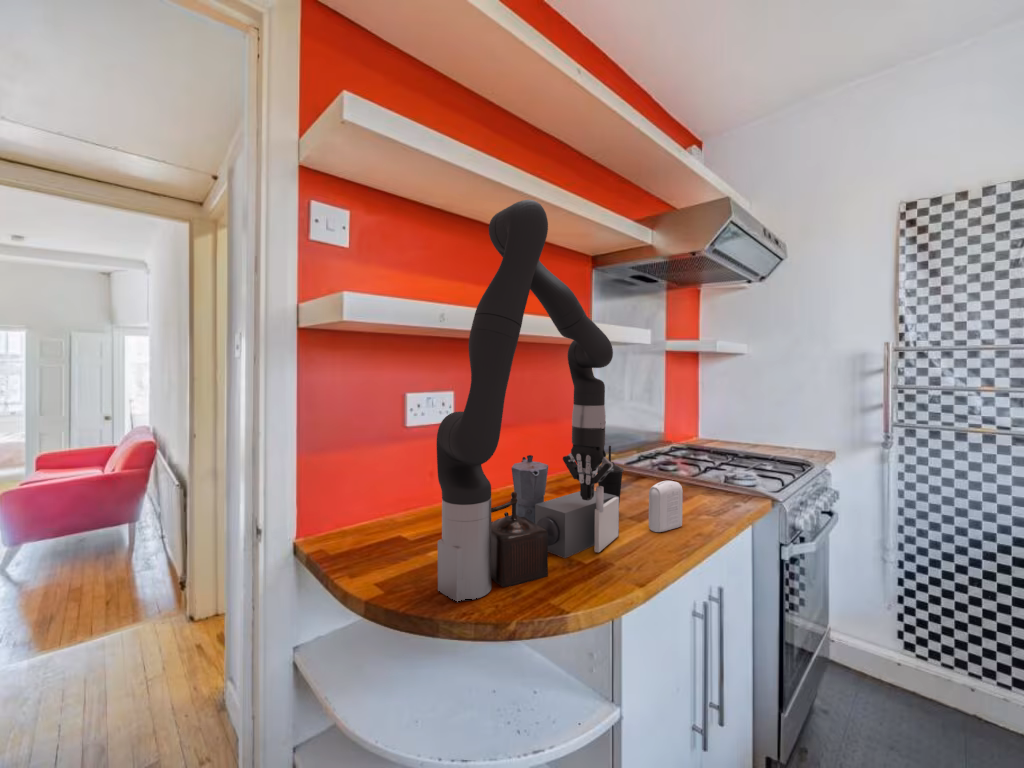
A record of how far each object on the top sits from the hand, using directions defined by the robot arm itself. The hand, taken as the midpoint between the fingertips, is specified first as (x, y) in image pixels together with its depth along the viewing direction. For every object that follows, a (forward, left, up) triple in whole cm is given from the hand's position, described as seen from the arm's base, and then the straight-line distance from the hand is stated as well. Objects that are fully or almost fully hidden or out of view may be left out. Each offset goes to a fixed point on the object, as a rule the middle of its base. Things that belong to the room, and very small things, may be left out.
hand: (587, 499), depth 102 cm
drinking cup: (+24, +10, -12) cm, 29 cm away
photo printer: (+27, -6, -12) cm, 30 cm away
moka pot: (-2, +17, -12) cm, 21 cm away
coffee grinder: (-23, +4, -12) cm, 26 cm away
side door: (+6, -2, -11) cm, 13 cm away
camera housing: (+2, +4, -12) cm, 13 cm away
